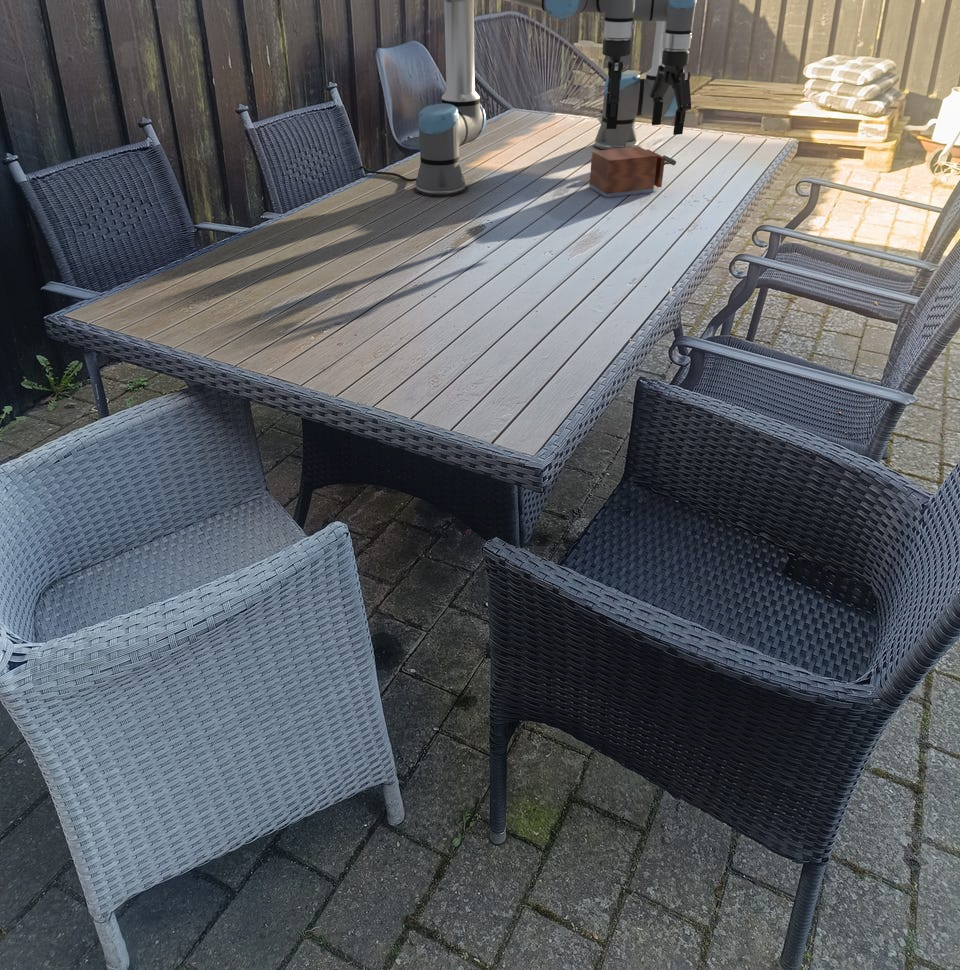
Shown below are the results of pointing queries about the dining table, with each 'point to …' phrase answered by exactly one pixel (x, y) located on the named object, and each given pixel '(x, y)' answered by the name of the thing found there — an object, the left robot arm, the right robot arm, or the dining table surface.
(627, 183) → the cabinet
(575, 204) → the dining table surface
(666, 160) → the drawer
